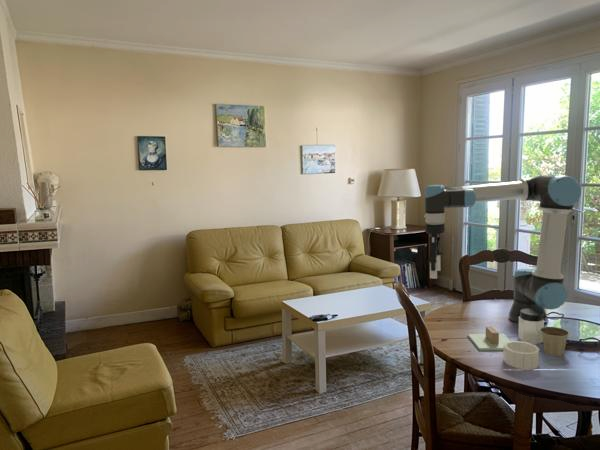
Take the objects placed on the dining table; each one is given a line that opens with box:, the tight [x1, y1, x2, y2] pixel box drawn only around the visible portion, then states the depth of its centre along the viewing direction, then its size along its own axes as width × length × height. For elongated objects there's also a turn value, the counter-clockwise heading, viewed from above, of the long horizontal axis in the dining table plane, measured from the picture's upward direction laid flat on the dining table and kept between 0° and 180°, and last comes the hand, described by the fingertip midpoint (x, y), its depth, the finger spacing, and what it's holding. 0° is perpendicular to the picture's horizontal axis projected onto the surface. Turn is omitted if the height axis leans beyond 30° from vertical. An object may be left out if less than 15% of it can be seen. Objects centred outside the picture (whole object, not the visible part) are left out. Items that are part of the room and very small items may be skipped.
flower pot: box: [540, 326, 570, 357], centre depth 163 cm, size 9×9×9 cm
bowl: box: [502, 340, 540, 372], centre depth 156 cm, size 11×11×6 cm
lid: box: [467, 325, 511, 352], centre depth 173 cm, size 14×14×6 cm
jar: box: [517, 309, 545, 345], centre depth 174 cm, size 9×8×12 cm
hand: (435, 274), depth 182 cm, fingers open, 13 cm apart
